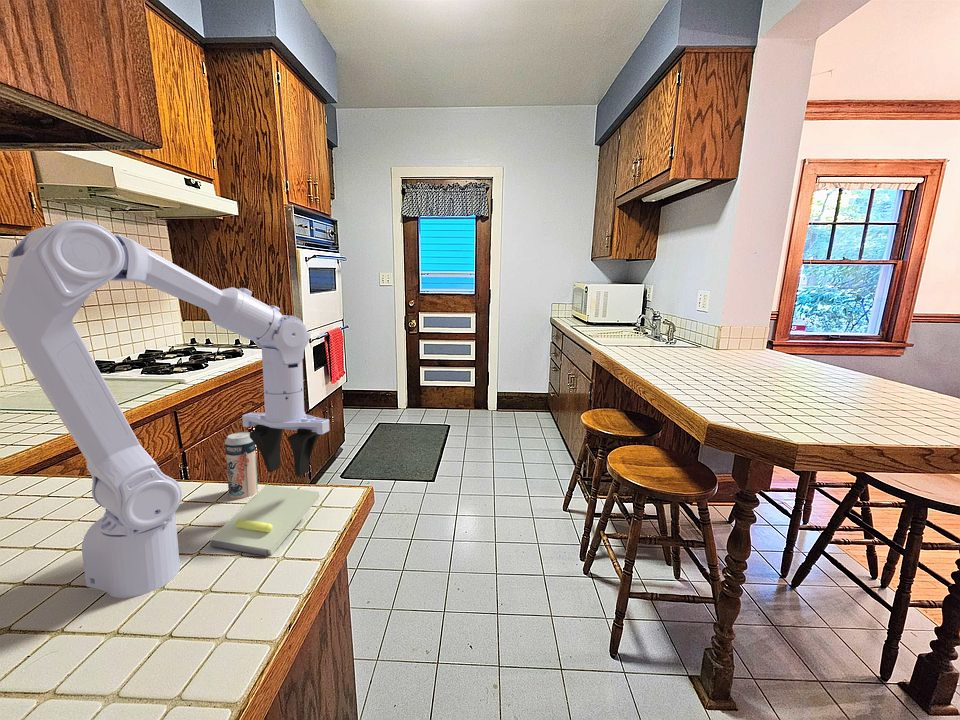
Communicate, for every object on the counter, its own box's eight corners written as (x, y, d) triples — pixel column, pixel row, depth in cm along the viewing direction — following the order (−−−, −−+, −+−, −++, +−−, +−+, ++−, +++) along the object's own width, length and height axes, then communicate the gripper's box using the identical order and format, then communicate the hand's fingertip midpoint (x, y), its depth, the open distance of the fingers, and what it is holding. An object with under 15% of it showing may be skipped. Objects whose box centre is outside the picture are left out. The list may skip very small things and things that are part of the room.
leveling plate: (208, 547, 60) (204, 535, 59) (267, 489, 71) (264, 479, 70) (269, 557, 58) (265, 546, 57) (319, 496, 69) (317, 486, 68)
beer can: (222, 501, 75) (217, 437, 74) (245, 490, 80) (242, 429, 78) (241, 506, 74) (237, 441, 72) (264, 495, 78) (261, 433, 76)
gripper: (338, 388, 69) (341, 467, 71) (262, 382, 72) (266, 458, 74) (313, 397, 62) (316, 484, 64) (230, 391, 65) (235, 474, 67)
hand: (287, 471), depth 68 cm, fingers open, 5 cm apart
